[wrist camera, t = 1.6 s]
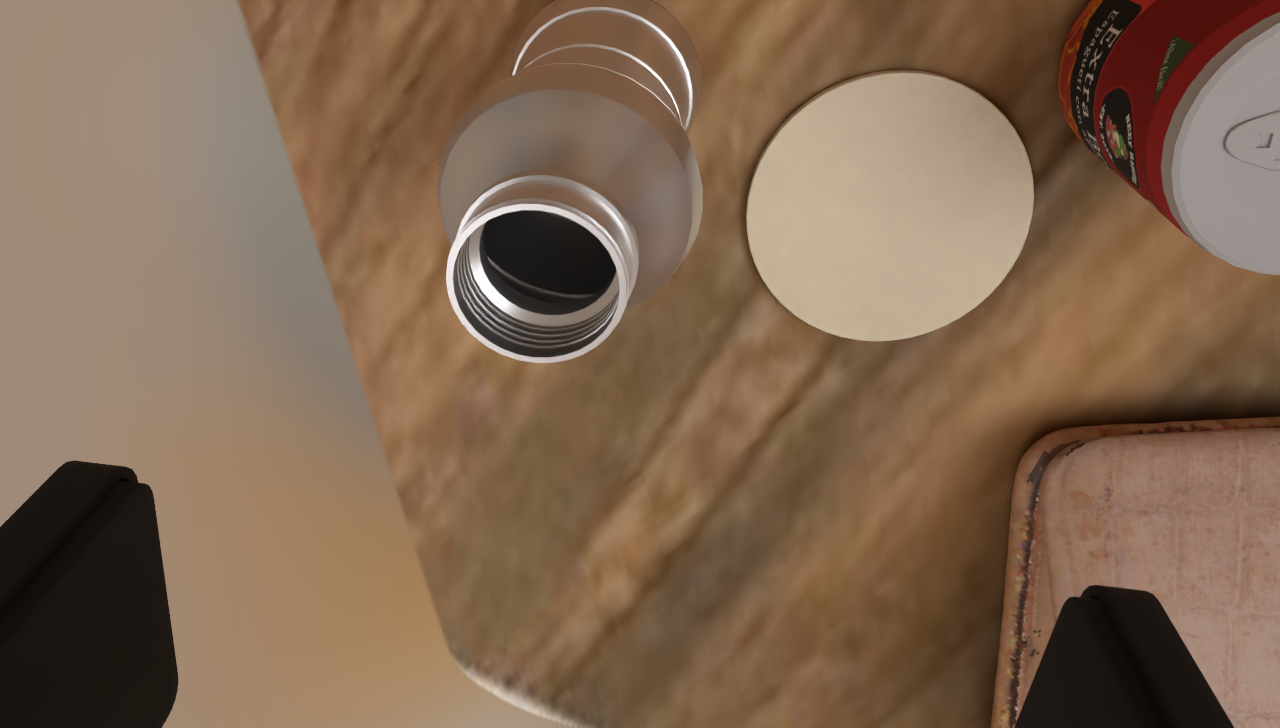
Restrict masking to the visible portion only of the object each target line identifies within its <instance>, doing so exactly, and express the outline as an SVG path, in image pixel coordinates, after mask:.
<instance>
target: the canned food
mask: <svg viewBox="0 0 1280 728" xmlns="http://www.w3.org/2000/svg"><path fill="white" fill-rule="evenodd" d="M1058 88H1059V96H1060V103H1061V107H1062V110H1063V112H1064V115H1065V118H1066V120H1067V123H1068V125H1069V126H1070V128H1071V129H1072V131H1073V132H1074V133H1075V135H1076V136H1077V138H1078V139H1079V140H1080V141H1081V142H1082V143H1083V144H1084V145H1085V146H1087V147H1088V148H1089V149H1090V150H1091V151H1092V152H1093V153H1094V154H1096V155H1097V156H1098V157H1099V158H1100V159H1101V160H1102V161H1103V162H1104V163H1106V164H1107V165H1108V166H1109V167H1110V168H1111V169H1112V170H1113V171H1115V172H1116V173H1117V174H1118V175H1119V176H1120V177H1121V178H1122V179H1123V180H1125V181H1126V182H1127V183H1128V184H1129V185H1130V186H1131V187H1132V188H1133V189H1135V190H1136V191H1137V192H1138V193H1139V194H1140V195H1141V196H1142V197H1144V198H1145V199H1146V200H1147V201H1148V202H1149V203H1150V204H1151V205H1152V206H1154V207H1155V208H1156V209H1157V210H1158V211H1159V212H1160V213H1161V214H1163V215H1164V216H1165V217H1166V218H1167V219H1168V220H1169V221H1170V222H1171V223H1173V224H1174V225H1175V226H1176V227H1177V228H1178V229H1179V230H1180V231H1182V232H1183V233H1184V234H1185V235H1186V236H1188V237H1189V238H1191V239H1192V240H1193V241H1194V242H1195V243H1196V244H1197V245H1199V246H1200V247H1201V248H1202V249H1204V250H1206V251H1208V252H1210V253H1211V254H1213V255H1215V256H1217V257H1219V258H1220V259H1222V260H1224V261H1226V262H1228V263H1230V264H1231V265H1233V266H1236V267H1240V268H1243V269H1247V270H1250V271H1253V272H1257V273H1264V274H1274V275H1280V0H1091V1H1090V2H1089V3H1088V4H1087V5H1086V7H1085V8H1084V9H1083V11H1082V12H1081V13H1080V15H1079V16H1078V17H1077V19H1076V20H1075V22H1074V24H1073V26H1072V28H1071V30H1070V32H1069V34H1068V36H1067V38H1066V40H1065V43H1064V47H1063V50H1062V54H1061V57H1060V64H1059V76H1058Z"/></svg>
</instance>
